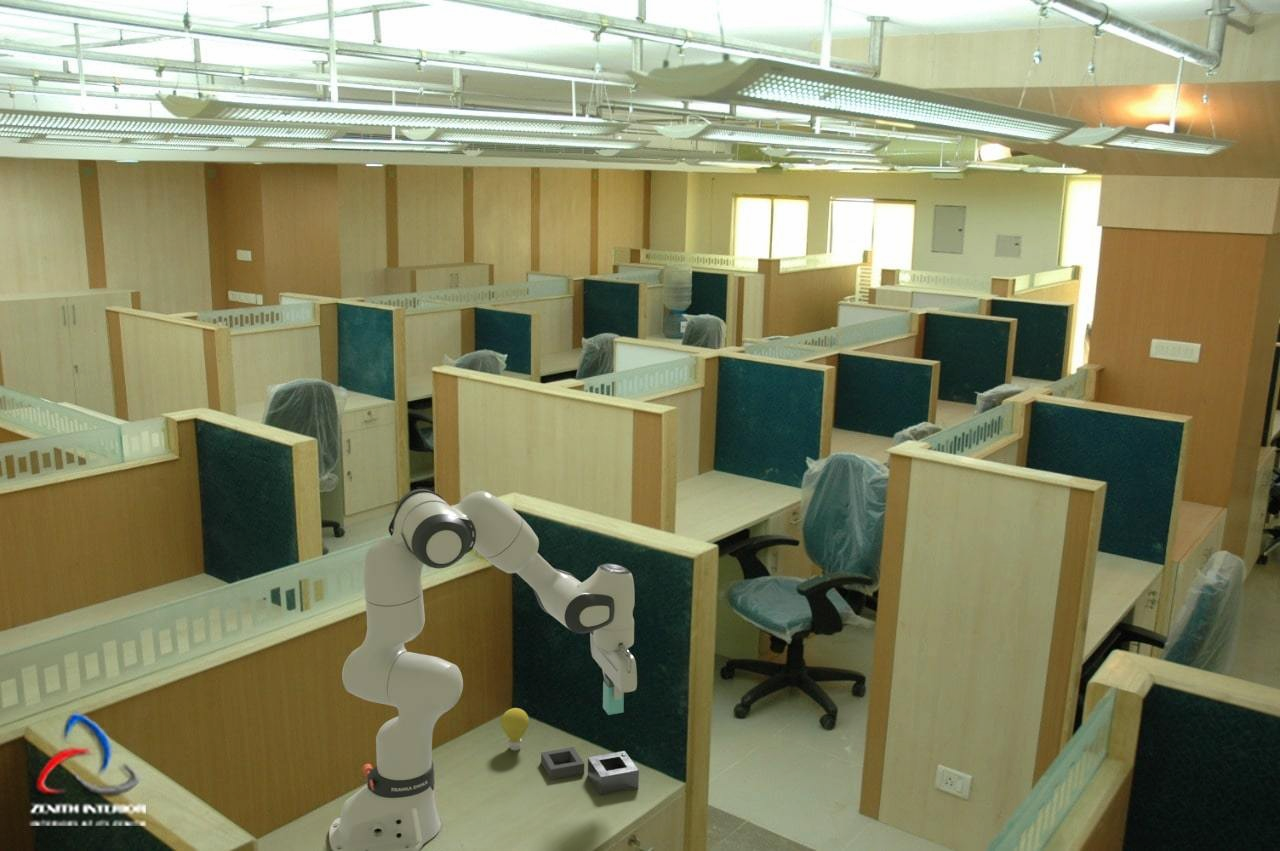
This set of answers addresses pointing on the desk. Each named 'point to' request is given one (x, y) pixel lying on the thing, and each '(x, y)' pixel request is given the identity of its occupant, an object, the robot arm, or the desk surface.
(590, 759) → the port
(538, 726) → the desk surface
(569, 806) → the desk surface
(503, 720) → the light bulb
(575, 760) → the frame
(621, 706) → the plug
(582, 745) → the desk surface
